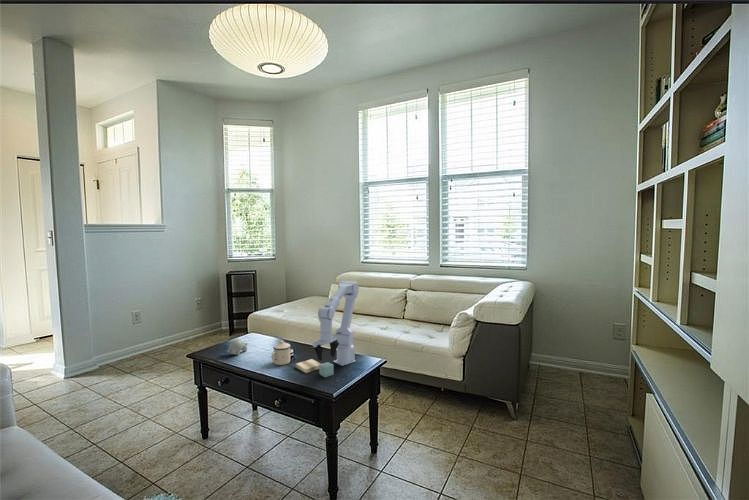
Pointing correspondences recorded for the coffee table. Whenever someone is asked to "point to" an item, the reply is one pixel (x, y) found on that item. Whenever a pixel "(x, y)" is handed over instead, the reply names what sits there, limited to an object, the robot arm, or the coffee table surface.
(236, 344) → the chubby cartoon animal
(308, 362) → the maple base
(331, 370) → the teal cube
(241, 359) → the coffee table surface
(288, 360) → the teacup with lid
